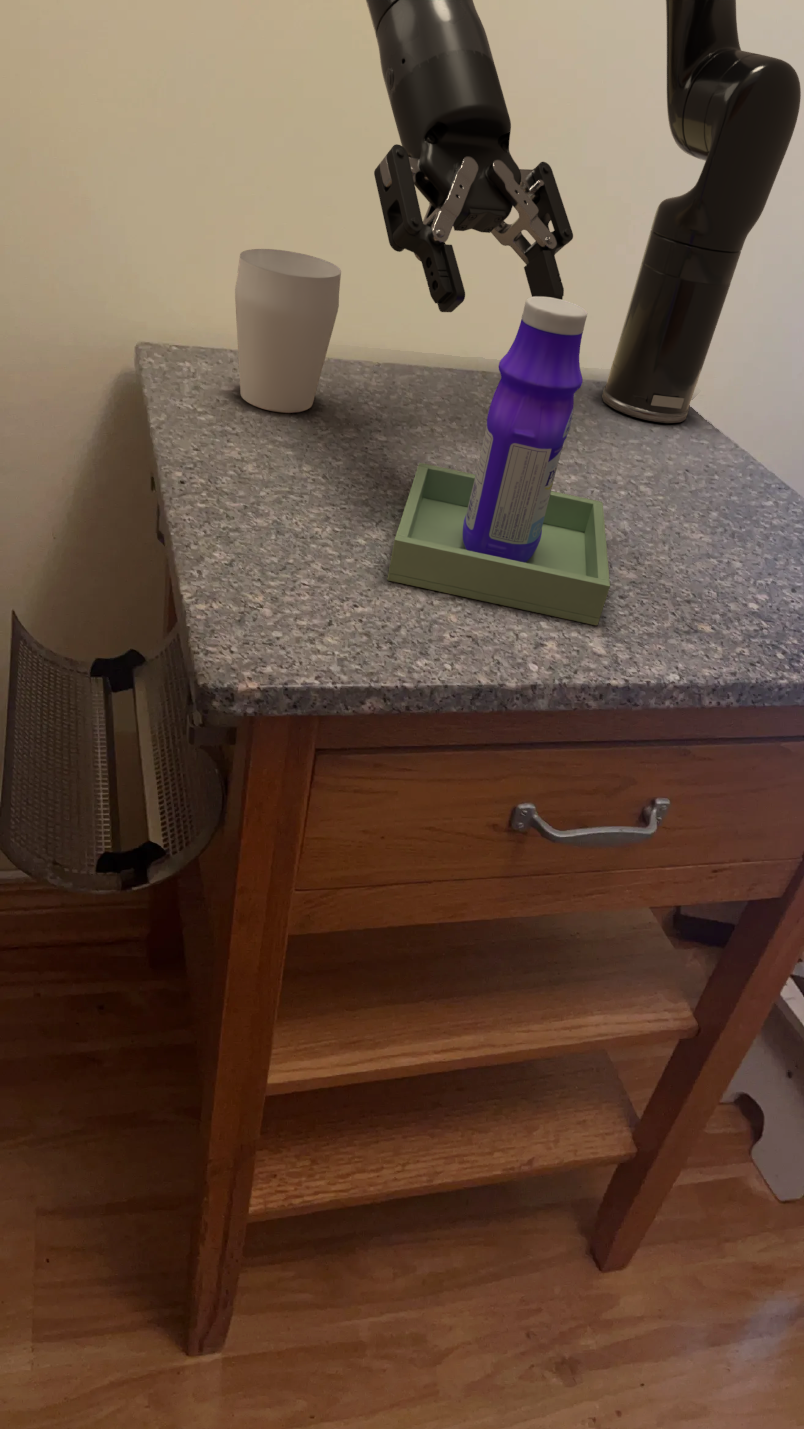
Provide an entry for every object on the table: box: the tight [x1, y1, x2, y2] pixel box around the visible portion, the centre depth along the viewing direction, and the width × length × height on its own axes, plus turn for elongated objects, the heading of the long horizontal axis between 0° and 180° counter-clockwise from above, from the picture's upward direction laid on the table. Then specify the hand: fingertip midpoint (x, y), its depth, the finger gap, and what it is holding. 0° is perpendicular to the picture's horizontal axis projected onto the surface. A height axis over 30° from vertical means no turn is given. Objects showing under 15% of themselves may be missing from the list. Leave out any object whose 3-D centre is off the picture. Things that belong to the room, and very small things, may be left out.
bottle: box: [463, 296, 588, 563], centre depth 71 cm, size 7×6×17 cm
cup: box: [234, 248, 342, 414], centre depth 92 cm, size 9×9×12 cm
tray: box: [386, 462, 611, 626], centre depth 75 cm, size 15×15×3 cm
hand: (503, 307), depth 70 cm, fingers open, 8 cm apart
